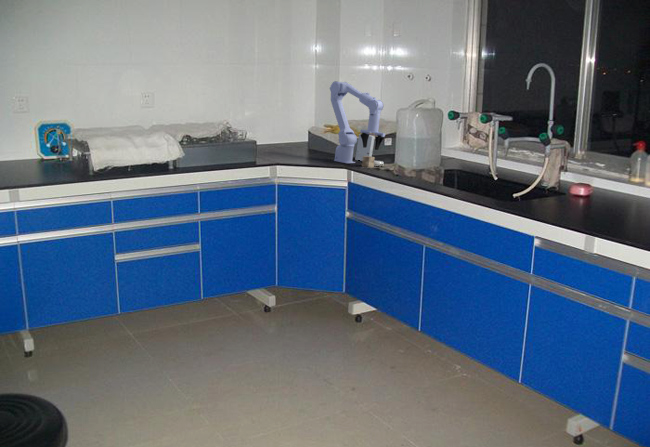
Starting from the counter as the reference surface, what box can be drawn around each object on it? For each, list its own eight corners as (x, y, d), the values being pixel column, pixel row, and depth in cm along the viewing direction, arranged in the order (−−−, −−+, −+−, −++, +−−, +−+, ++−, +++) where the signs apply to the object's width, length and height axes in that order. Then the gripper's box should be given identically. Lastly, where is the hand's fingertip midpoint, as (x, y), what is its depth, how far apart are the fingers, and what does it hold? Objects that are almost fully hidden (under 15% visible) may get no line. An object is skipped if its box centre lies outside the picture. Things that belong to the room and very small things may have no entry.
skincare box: (354, 160, 388) (357, 134, 384) (358, 159, 393) (361, 133, 390) (369, 162, 385) (372, 135, 382) (372, 161, 391) (375, 135, 387)
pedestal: (367, 165, 372) (368, 160, 371) (375, 164, 377) (375, 160, 377) (378, 167, 368) (378, 162, 367) (385, 166, 373) (386, 162, 372)
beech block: (361, 166, 365) (362, 156, 364) (366, 166, 368) (367, 155, 367) (368, 167, 362) (369, 157, 361) (373, 167, 366) (374, 157, 364)
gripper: (358, 121, 361) (355, 146, 364) (381, 124, 352) (377, 150, 355) (365, 121, 366) (362, 146, 369) (388, 124, 358) (385, 150, 361)
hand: (370, 148), depth 363 cm, fingers open, 7 cm apart
